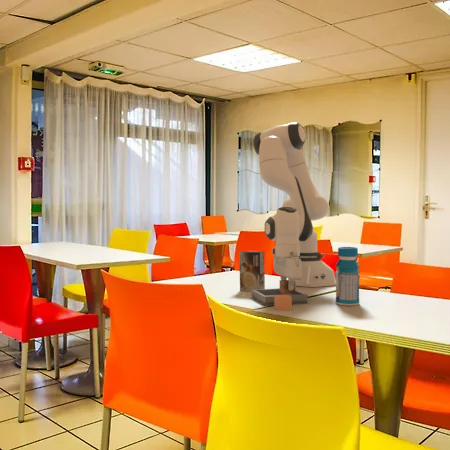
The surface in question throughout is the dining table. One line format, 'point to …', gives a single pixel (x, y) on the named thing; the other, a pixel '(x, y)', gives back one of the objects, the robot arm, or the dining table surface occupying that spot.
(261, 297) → the tray
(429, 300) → the dining table surface
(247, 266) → the coffee box
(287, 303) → the terracotta block
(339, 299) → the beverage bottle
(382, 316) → the dining table surface
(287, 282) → the walnut block
